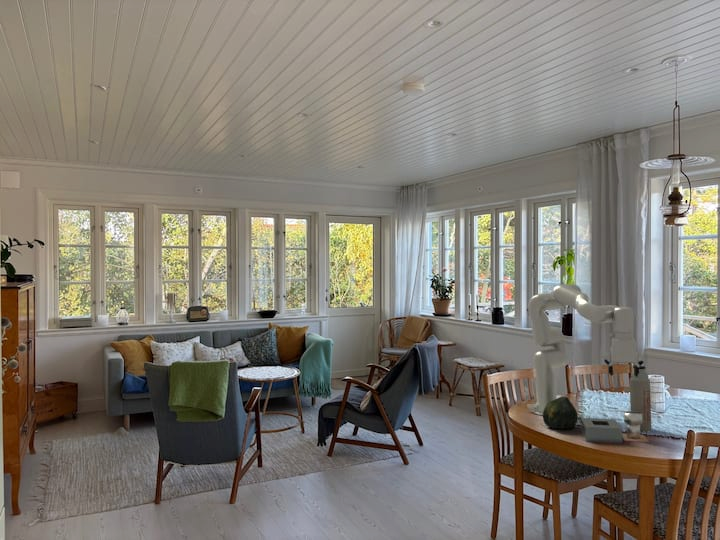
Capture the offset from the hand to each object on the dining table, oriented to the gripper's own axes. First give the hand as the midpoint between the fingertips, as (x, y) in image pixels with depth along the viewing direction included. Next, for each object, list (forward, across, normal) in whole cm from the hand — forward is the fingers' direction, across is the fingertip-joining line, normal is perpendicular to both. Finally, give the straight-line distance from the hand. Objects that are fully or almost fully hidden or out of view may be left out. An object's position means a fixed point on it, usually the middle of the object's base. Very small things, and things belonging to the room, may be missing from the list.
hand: (623, 375), depth 229 cm
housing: (+26, -10, -6) cm, 28 cm away
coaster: (+25, +3, -4) cm, 26 cm away
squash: (+26, -25, +6) cm, 37 cm away
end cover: (+25, +3, -4) cm, 26 cm away
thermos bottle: (+26, +9, +10) cm, 29 cm away
